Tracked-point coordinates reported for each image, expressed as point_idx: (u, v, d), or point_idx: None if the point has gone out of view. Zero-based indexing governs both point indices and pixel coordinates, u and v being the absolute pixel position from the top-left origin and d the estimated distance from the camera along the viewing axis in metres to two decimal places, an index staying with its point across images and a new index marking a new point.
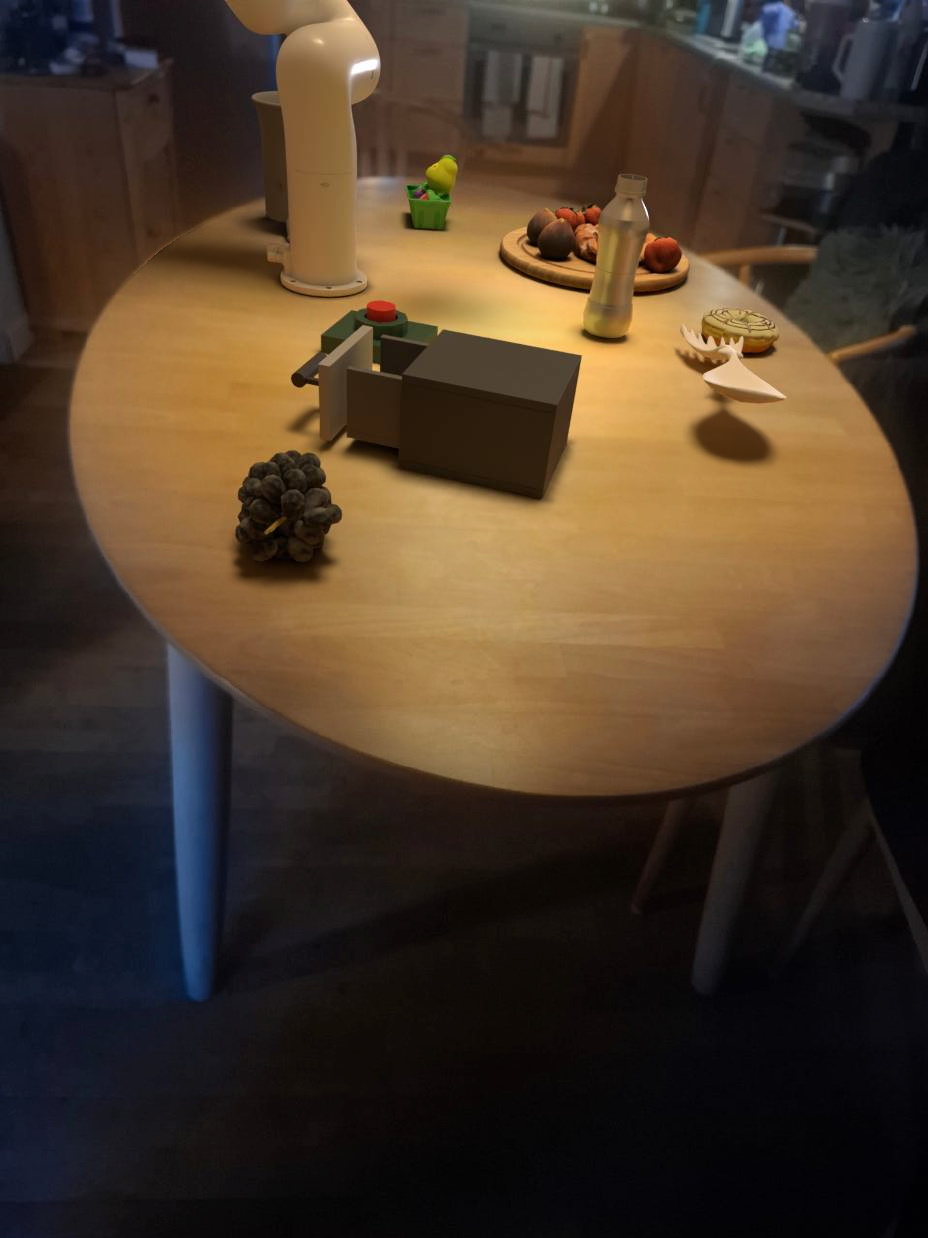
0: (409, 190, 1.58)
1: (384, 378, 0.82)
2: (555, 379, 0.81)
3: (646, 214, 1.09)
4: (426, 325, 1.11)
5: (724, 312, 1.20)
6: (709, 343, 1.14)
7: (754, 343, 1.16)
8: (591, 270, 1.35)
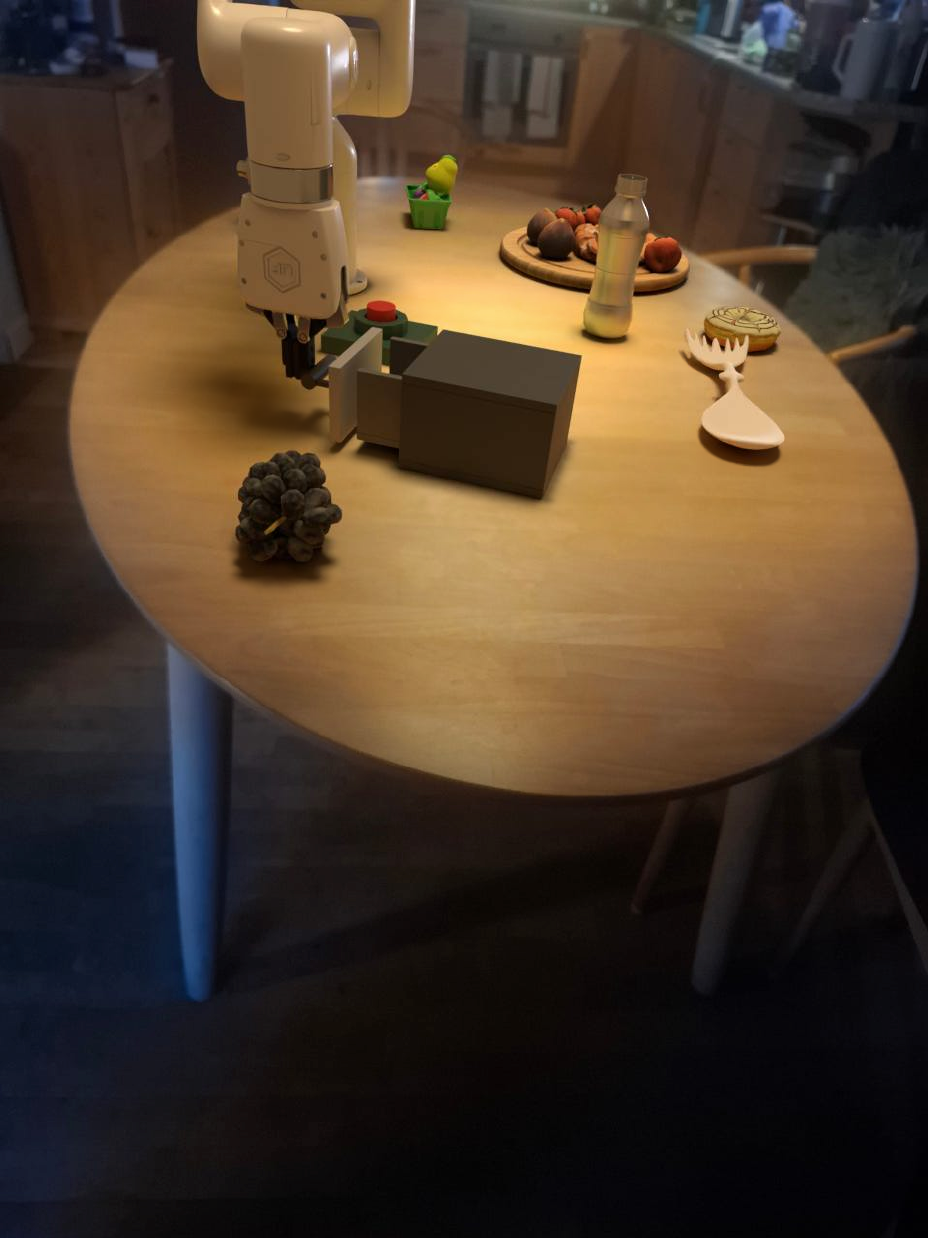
0: (409, 190, 1.58)
1: (395, 380, 0.82)
2: (555, 379, 0.81)
3: (646, 214, 1.09)
4: (426, 325, 1.11)
5: (725, 312, 1.20)
6: (714, 349, 1.14)
7: (763, 341, 1.17)
8: (591, 270, 1.35)
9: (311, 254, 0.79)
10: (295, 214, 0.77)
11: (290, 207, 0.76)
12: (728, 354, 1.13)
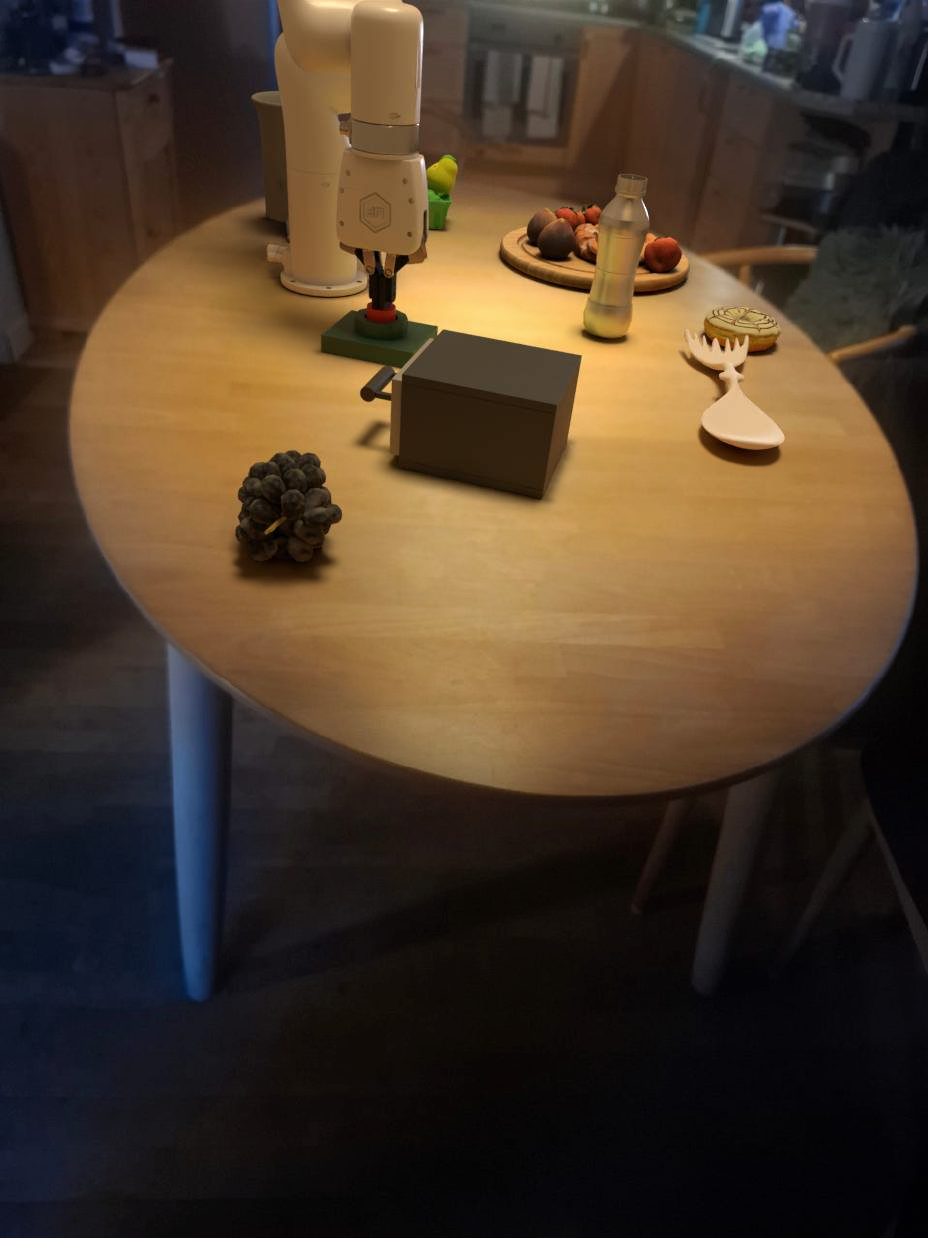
0: None
1: None
2: (555, 379, 0.81)
3: (646, 214, 1.09)
4: (426, 325, 1.11)
5: (725, 312, 1.20)
6: (714, 349, 1.14)
7: (763, 341, 1.17)
8: (591, 270, 1.35)
9: (401, 198, 0.95)
10: (389, 164, 0.94)
11: (386, 157, 0.93)
12: (728, 354, 1.13)
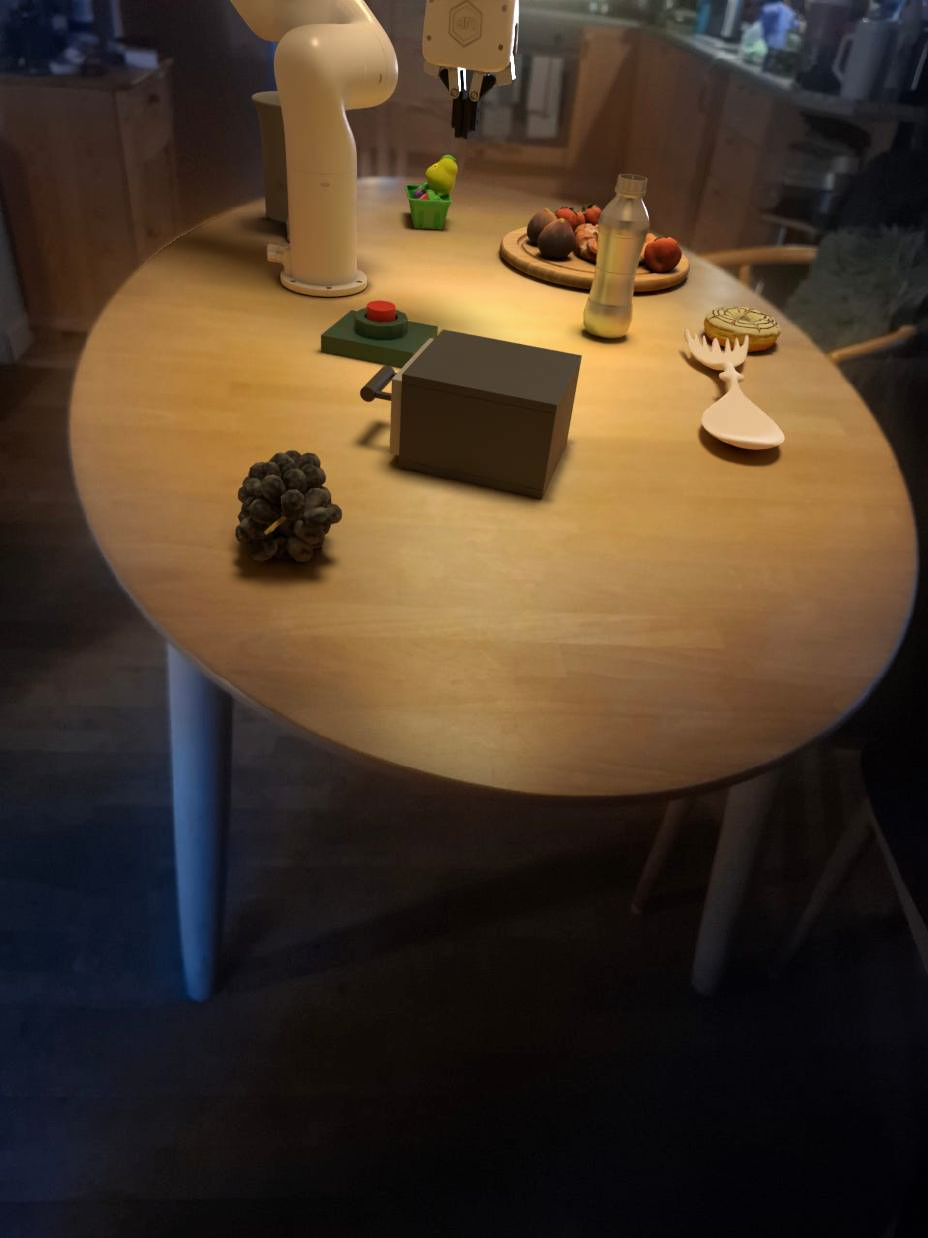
0: (409, 190, 1.58)
1: None
2: (555, 379, 0.81)
3: (646, 214, 1.09)
4: (426, 325, 1.11)
5: (725, 312, 1.20)
6: (714, 349, 1.14)
7: (763, 341, 1.17)
8: (591, 270, 1.35)
9: (494, 5, 0.92)
10: None
11: None
12: (728, 354, 1.13)
